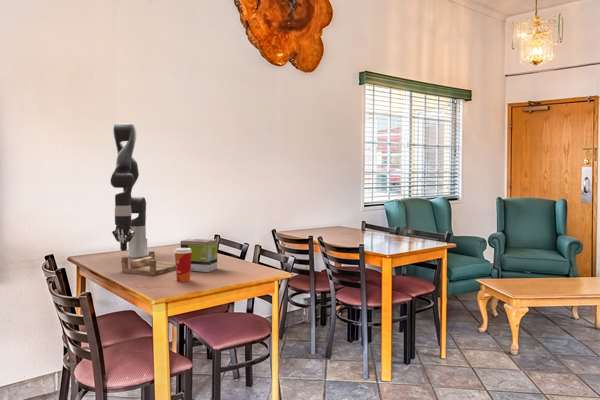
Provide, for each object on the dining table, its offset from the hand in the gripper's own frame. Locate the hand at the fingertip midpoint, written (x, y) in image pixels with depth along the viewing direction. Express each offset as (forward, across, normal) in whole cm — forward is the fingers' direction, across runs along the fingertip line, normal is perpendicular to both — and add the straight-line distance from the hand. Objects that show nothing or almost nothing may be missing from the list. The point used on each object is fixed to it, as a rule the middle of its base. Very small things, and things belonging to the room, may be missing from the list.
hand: (123, 250), depth 232 cm
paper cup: (+10, -39, +4) cm, 41 cm away
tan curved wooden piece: (+7, -7, -6) cm, 12 cm away
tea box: (+10, -31, -18) cm, 37 cm away
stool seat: (+10, -12, -6) cm, 17 cm away
